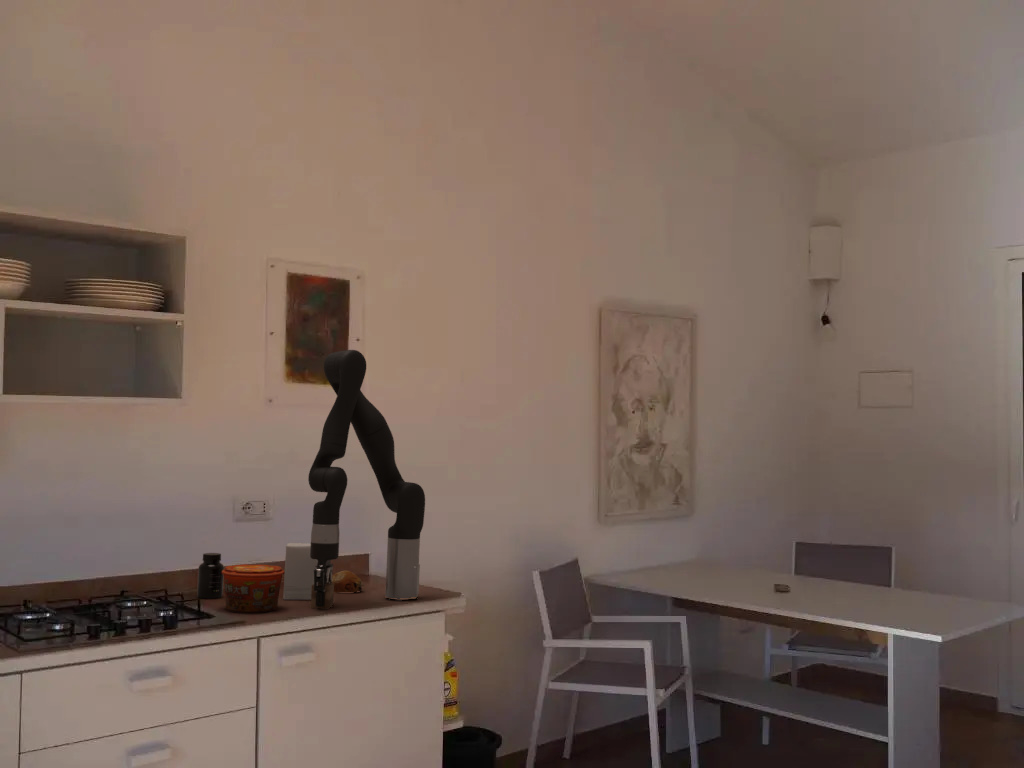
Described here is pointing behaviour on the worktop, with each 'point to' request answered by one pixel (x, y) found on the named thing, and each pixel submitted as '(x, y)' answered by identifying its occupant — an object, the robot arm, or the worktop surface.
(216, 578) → the supplement bottle
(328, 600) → the walnut block
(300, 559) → the supplement box
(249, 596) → the food container
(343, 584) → the bread roll
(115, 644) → the worktop surface
